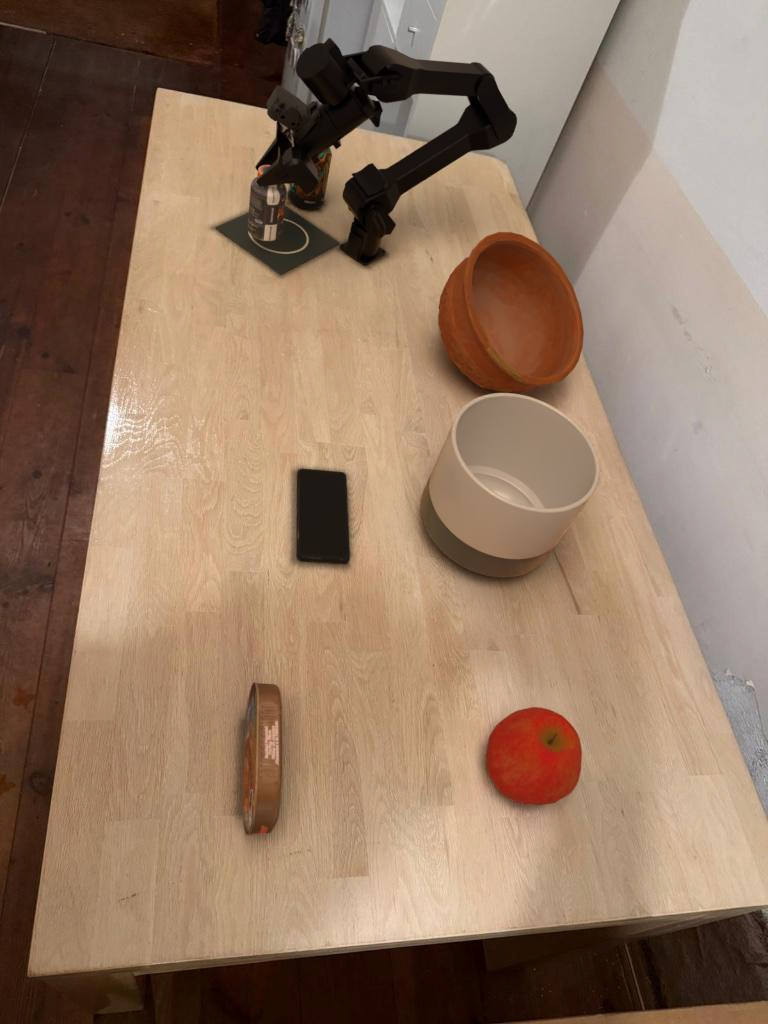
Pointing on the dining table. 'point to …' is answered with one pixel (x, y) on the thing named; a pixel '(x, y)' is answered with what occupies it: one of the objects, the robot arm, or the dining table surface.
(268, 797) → the tin
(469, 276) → the bowl
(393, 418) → the dining table surface
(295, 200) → the beverage can
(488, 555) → the planter
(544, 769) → the apple
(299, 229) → the slate board
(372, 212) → the robot arm
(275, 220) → the pill bottle
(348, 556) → the smartphone
